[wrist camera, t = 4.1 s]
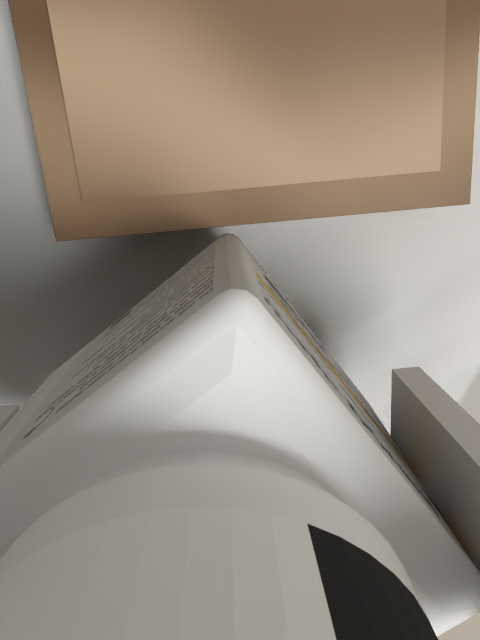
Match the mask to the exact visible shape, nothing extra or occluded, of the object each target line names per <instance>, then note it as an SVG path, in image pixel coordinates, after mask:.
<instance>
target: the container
mask: <svg viewBox="0 0 480 640" xmlns="http://www.w3.org/2000/svg"><path fill="white" fill-rule="evenodd" d="M479 612H480V571H479V569H478V568H477V566H476V565H475V563H474V562H473V560H472V559H471V557H470V556H469V554H468V553H467V551H466V550H465V548H464V547H463V545H462V544H461V542H460V541H459V539H458V538H457V536H456V535H455V533H454V531H453V530H452V528H451V527H450V525H449V524H448V522H447V521H446V519H445V518H444V516H443V515H442V513H441V512H440V510H439V509H438V507H437V506H436V504H435V503H434V501H433V500H432V498H431V497H430V495H429V494H428V492H427V491H426V489H425V488H424V486H423V485H422V483H421V482H420V480H419V479H418V477H417V476H416V474H415V472H414V471H413V469H412V468H411V466H410V465H409V463H408V462H407V460H406V459H405V457H404V456H403V454H402V453H401V451H400V450H399V448H398V447H397V445H396V444H395V442H394V441H393V439H392V438H391V436H390V435H389V433H388V432H387V430H386V429H385V427H384V426H383V424H382V423H381V421H380V420H379V418H378V416H377V415H376V413H375V412H374V410H373V409H372V407H371V406H370V404H369V403H368V401H367V400H366V399H365V398H364V396H363V395H362V394H361V393H360V391H359V390H358V389H357V387H356V386H355V385H354V384H353V382H352V381H351V380H350V379H349V377H348V376H347V375H346V374H345V372H344V371H343V370H342V368H341V367H340V366H339V365H338V363H337V362H336V361H335V360H334V358H333V357H332V356H331V355H330V353H329V352H328V351H327V349H326V348H325V347H324V346H323V344H322V343H321V342H320V341H319V339H318V338H317V337H316V336H315V334H314V333H313V332H312V330H311V329H310V328H309V327H308V325H307V324H306V323H305V322H304V320H303V319H302V318H301V317H300V315H299V314H298V313H297V311H296V310H295V309H294V308H293V306H292V305H291V304H290V303H289V301H288V300H287V299H286V298H285V296H284V295H283V294H282V292H281V291H280V290H279V289H278V287H277V286H276V285H275V284H274V282H273V281H272V280H271V279H270V277H269V276H268V275H267V273H266V272H265V271H264V270H263V268H262V267H261V266H260V265H259V263H258V262H257V261H256V260H255V258H254V257H253V256H252V254H251V253H250V252H249V251H248V249H247V248H246V247H245V246H244V244H243V243H242V242H241V241H240V239H239V238H237V237H236V236H235V235H233V234H224V235H222V236H220V237H218V238H217V239H216V240H215V241H213V242H212V243H211V244H210V245H209V246H207V247H206V248H205V249H204V250H202V251H201V252H200V253H199V254H197V255H196V256H195V257H194V258H193V259H191V260H190V261H189V262H188V263H186V264H185V265H184V266H183V267H181V268H180V269H179V270H178V271H177V272H175V273H174V274H173V275H172V276H170V277H169V278H168V279H167V280H166V281H164V282H163V283H162V284H161V285H159V286H158V287H157V288H156V289H154V290H153V291H152V292H151V293H150V294H148V295H147V296H146V297H145V298H143V299H142V300H141V301H140V302H138V303H137V304H136V305H135V306H134V307H132V308H131V309H130V310H129V311H127V312H126V313H125V314H124V315H122V316H121V317H120V318H119V319H118V320H116V321H115V322H114V323H113V324H111V325H110V326H109V327H108V328H107V329H105V330H104V331H103V332H102V333H100V334H99V335H98V336H97V337H95V338H94V339H93V340H92V341H91V342H89V343H88V344H87V345H86V346H84V347H83V348H82V349H81V350H79V351H78V352H77V353H76V354H75V355H73V356H72V357H71V358H70V359H68V360H67V361H66V362H65V363H64V364H62V365H61V366H60V367H59V368H57V369H56V370H55V371H54V372H52V373H51V374H50V375H49V376H48V377H47V379H46V380H45V381H44V382H43V383H42V384H41V385H40V387H39V388H38V389H37V390H36V391H35V392H34V393H33V395H32V396H31V397H30V398H29V399H28V400H27V402H26V403H25V404H24V405H23V406H22V407H21V408H20V410H19V411H18V412H17V413H16V414H15V415H14V416H13V418H12V419H11V420H10V421H9V422H8V423H7V424H6V426H5V427H4V428H3V429H2V430H1V431H0V640H438V638H437V636H439V635H441V634H442V633H444V632H446V631H447V630H449V629H451V628H453V627H454V626H456V625H458V624H459V623H461V622H463V621H465V620H466V619H468V618H470V617H471V616H473V615H475V614H477V613H479Z"/></svg>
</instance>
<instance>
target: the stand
mask: <svg viewBox="0 0 480 640" xmlns="http://www.w3.org/2000/svg"><path fill="white" fill-rule="evenodd" d="M8 2H9V7H10V12H11V17H12V22H13V27H14V32H15V37H16V42H17V47H18V52H19V57H20V62H21V67H22V72H23V77H24V82H25V87H26V92H27V97H28V102H29V107H30V112H31V117H32V122H33V127H34V132H35V137H36V142H37V147H38V152H39V157H40V162H41V167H42V172H43V177H44V182H45V187H46V192H47V197H48V202H49V207H50V212H51V217H52V222H53V227H54V232H55V237H56V242H57V241H68V240H79V239H90V238H101V237H112V236H123V235H134V234H145V233H156V232H167V231H178V230H189V229H200V228H211V227H222V226H233V225H244V224H255V223H267V222H278V221H289V220H300V219H311V218H322V217H333V216H344V215H355V214H366V213H377V212H388V211H399V210H410V209H421V208H432V207H443V206H454V205H465V204H470V192H471V175H472V157H473V139H474V122H475V104H476V87H477V69H478V52H479V34H480V0H8Z"/></svg>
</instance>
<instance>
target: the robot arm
mask: <svg viewBox="0 0 480 640" xmlns="http://www.w3.org/2000/svg"><path fill="white" fill-rule="evenodd" d="M18 411H19V406H18V405H14V406H4V407H0V431H1V430H2V429H3V428H4V427H5V426H6V424H7V423H8V422H9V421H10V420H11V419H12V418H13V416H14V415H15V414H16V413H17V412H18ZM391 438H392V439H393V441H394V442H395V444H396V445H397V447H398V448H399V450H400V451H401V453H402V454H403V456H404V457H405V459H406V460H407V462H408V463H409V465H410V466H411V468H412V469H413V471H414V472H415V474H416V476H417V477H418V479H419V480H420V482H421V483H422V485H423V486H424V488H425V489H426V491H427V492H428V494H429V495H430V497H431V498H432V500H433V501H434V503H435V504H436V506H437V507H438V509H439V510H440V512H441V513H442V515H443V516H444V518H445V519H446V521H447V522H448V524H449V525H450V527H451V528H452V530H453V531H454V533H455V535H456V536H457V538H458V539H459V541H460V542H461V544H462V545H463V547H464V548H465V550H466V551H467V553H468V554H469V556H470V557H471V559H472V560H473V562H474V563H475V565H476V566H477V568H478V569H479V571H480V424H479V423H478V422H477V421H476V420H475V419H473V418H472V417H471V416H470V415H469V414H468V413H467V412H466V411H465V410H464V409H463V408H462V407H461V406H460V405H459V404H458V403H457V402H455V401H454V400H453V399H452V398H451V397H450V396H449V395H448V394H447V393H446V392H445V391H444V390H443V389H442V388H441V387H440V386H439V385H438V384H436V383H435V382H434V381H433V380H432V379H431V378H430V377H429V376H428V375H427V374H426V373H425V372H424V371H423V370H422V369H421V368H420V367H411V368H401V369H392V395H391Z"/></svg>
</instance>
